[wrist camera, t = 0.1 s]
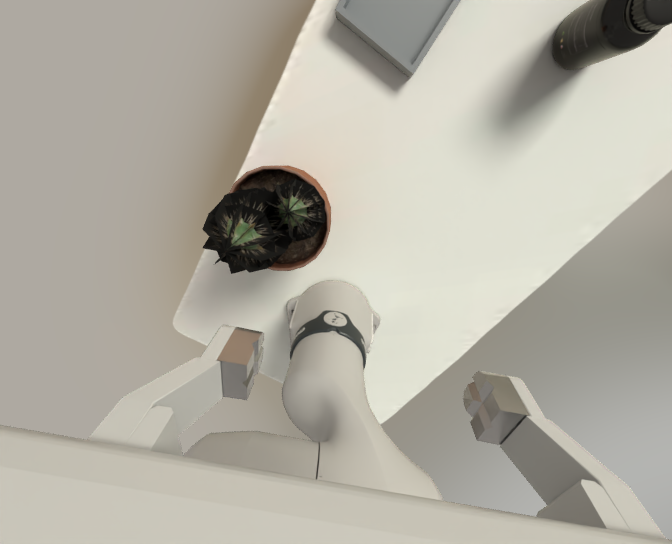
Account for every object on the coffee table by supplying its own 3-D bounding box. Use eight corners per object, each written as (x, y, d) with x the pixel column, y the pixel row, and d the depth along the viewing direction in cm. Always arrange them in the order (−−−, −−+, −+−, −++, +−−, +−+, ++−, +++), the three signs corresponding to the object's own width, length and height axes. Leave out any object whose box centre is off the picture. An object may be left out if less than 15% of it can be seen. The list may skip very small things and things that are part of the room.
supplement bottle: (612, -2, 34) (733, -73, 23) (602, 63, 37) (707, 28, 26) (552, 14, 35) (641, -46, 24) (547, 77, 38) (624, 48, 27)
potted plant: (316, 254, 51) (284, 341, 28) (246, 220, 49) (152, 284, 26) (350, 185, 45) (346, 223, 23) (273, 144, 43) (185, 141, 21)
